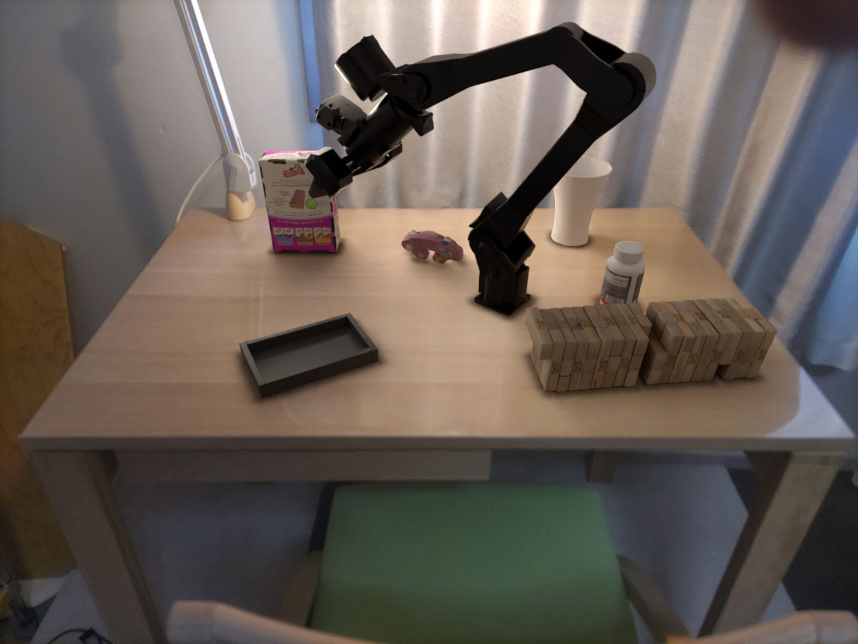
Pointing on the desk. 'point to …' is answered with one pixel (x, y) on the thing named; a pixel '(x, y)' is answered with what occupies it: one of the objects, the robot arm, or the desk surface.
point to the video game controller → (432, 246)
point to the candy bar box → (297, 205)
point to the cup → (578, 199)
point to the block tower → (647, 343)
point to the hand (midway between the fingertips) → (328, 185)
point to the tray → (307, 354)
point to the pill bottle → (623, 274)
